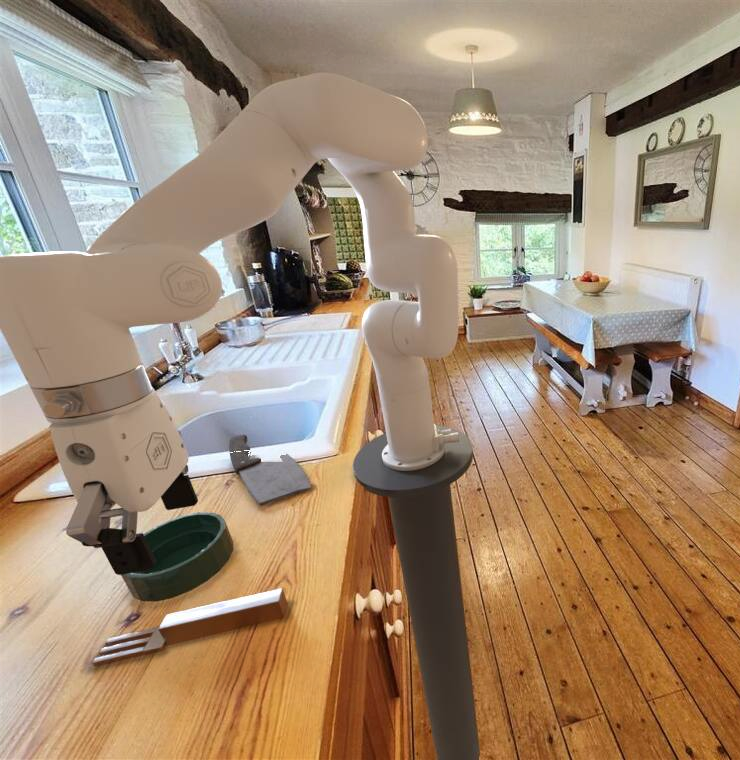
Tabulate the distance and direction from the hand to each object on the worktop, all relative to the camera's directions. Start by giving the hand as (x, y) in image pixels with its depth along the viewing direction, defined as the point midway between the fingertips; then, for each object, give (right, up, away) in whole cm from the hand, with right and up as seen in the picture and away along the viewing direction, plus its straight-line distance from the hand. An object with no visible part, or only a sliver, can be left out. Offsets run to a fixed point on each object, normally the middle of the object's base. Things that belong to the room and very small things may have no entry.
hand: (162, 534), depth 44 cm
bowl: (-9, -11, +15) cm, 21 cm away
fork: (-2, -14, +6) cm, 16 cm away
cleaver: (-12, -1, +39) cm, 41 cm away
